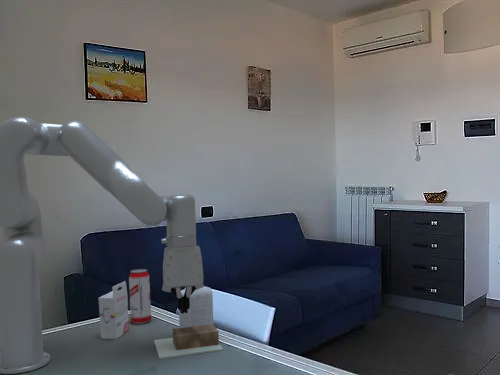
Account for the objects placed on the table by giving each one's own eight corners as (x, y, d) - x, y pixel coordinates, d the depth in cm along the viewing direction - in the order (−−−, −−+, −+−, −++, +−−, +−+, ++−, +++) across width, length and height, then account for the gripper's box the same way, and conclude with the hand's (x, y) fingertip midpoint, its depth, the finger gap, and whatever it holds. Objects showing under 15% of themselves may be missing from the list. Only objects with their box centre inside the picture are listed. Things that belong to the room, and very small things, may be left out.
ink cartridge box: (113, 329, 147) (111, 280, 147) (129, 330, 146) (127, 280, 146) (99, 339, 139) (97, 286, 138) (116, 339, 138) (113, 286, 137)
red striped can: (145, 318, 158) (143, 268, 158) (155, 321, 154) (152, 270, 153) (127, 322, 154) (125, 270, 154) (136, 326, 150) (134, 273, 149)
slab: (175, 336, 126) (218, 331, 129) (172, 328, 132) (213, 324, 135) (176, 350, 126) (219, 344, 129) (173, 341, 132) (213, 336, 135)
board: (159, 359, 121) (159, 357, 121) (153, 341, 134) (153, 340, 134) (223, 350, 125) (223, 348, 125) (211, 334, 139) (211, 332, 139)
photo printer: (210, 324, 149) (208, 283, 149) (215, 327, 145) (214, 285, 145) (177, 329, 144) (175, 287, 144) (182, 333, 141) (180, 290, 140)
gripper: (154, 245, 124) (156, 318, 124) (212, 241, 128) (214, 312, 128) (151, 242, 131) (153, 311, 131) (207, 238, 135) (209, 306, 135)
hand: (183, 311), depth 130 cm, fingers closed
